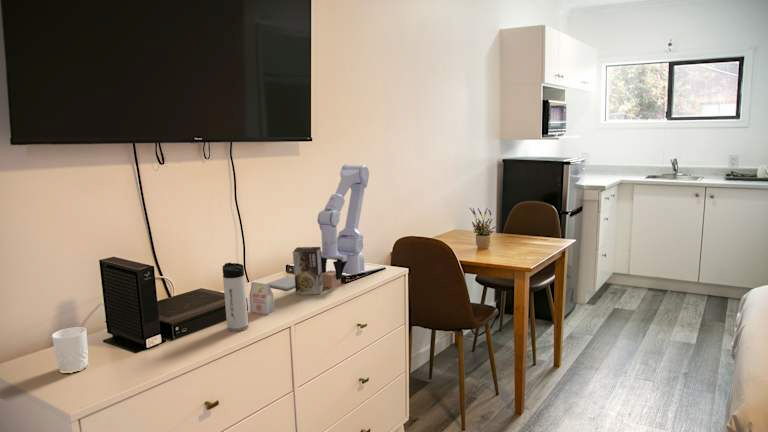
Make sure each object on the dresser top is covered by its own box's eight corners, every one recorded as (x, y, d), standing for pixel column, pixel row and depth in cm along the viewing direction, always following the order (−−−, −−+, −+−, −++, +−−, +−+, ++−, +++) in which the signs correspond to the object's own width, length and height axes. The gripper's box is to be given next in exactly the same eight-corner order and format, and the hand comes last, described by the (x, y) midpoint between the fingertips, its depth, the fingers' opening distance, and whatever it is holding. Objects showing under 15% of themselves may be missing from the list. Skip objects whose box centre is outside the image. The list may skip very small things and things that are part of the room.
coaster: (287, 277, 227) (287, 276, 227) (309, 282, 220) (309, 280, 220) (265, 285, 218) (264, 283, 218) (287, 290, 211) (287, 288, 211)
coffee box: (323, 289, 211) (321, 246, 208) (319, 294, 205) (317, 250, 202) (299, 289, 212) (296, 246, 209) (295, 294, 206) (292, 251, 203)
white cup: (76, 360, 155) (71, 325, 153) (97, 364, 152) (93, 328, 150) (49, 372, 148) (44, 336, 146) (71, 377, 145) (66, 340, 143)
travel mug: (240, 322, 180) (236, 260, 176) (252, 327, 175) (247, 264, 172) (222, 328, 176) (217, 264, 172) (234, 333, 171) (228, 268, 167)
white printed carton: (257, 309, 192) (255, 280, 190) (274, 311, 189) (272, 282, 187) (250, 312, 189) (248, 283, 187) (267, 315, 186) (265, 285, 184)
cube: (330, 283, 219) (330, 270, 218) (341, 284, 216) (340, 272, 215) (322, 286, 215) (321, 273, 214) (332, 288, 212) (331, 275, 211)
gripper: (307, 242, 213) (309, 277, 216) (337, 246, 205) (339, 283, 208) (320, 238, 219) (321, 273, 222) (350, 242, 211) (351, 278, 213)
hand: (331, 277), depth 215 cm, fingers open, 7 cm apart
